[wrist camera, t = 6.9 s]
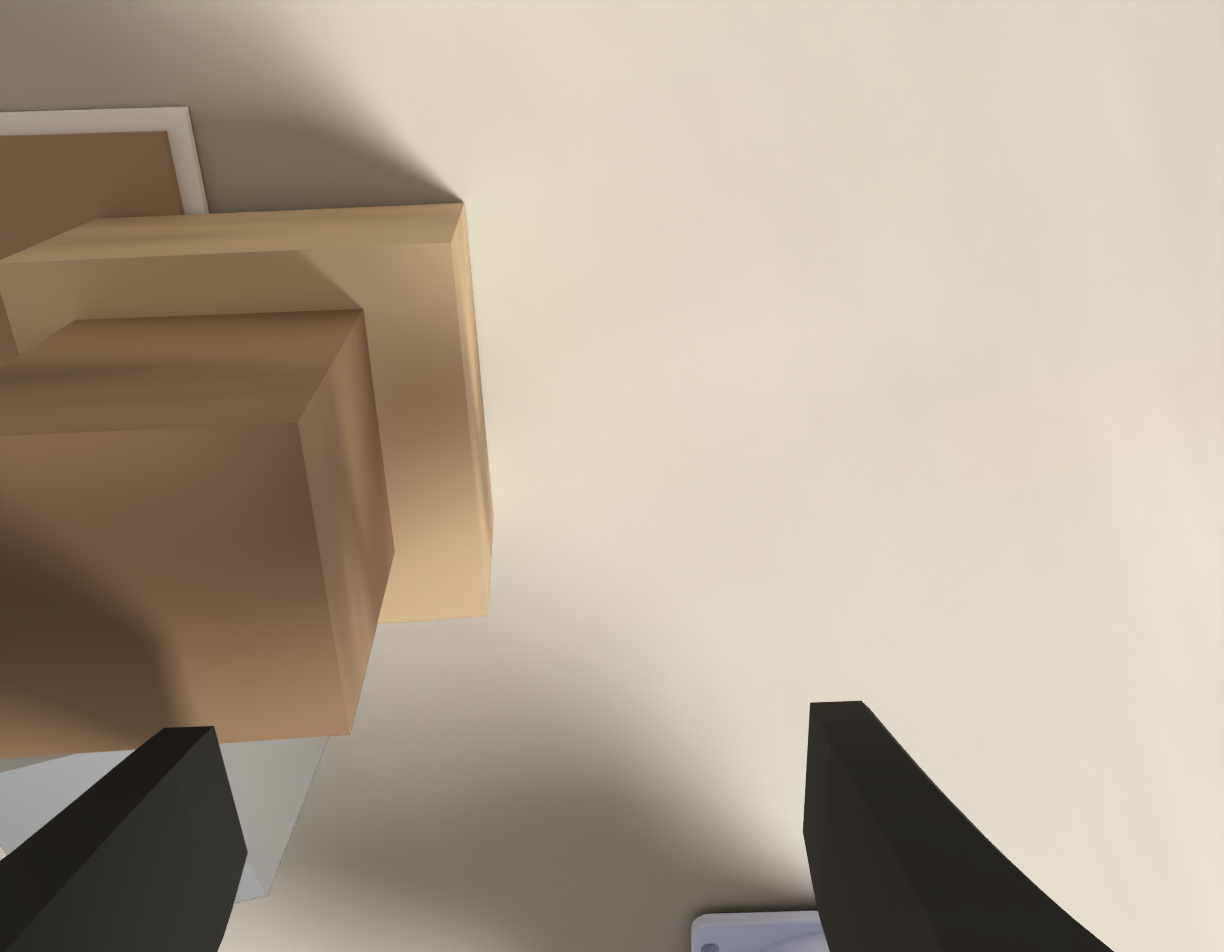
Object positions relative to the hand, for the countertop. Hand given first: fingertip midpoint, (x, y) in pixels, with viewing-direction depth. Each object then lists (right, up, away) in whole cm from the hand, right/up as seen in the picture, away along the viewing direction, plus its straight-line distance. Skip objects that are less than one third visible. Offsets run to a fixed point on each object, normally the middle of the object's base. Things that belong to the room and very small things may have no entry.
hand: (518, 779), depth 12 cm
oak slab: (-5, +6, +8) cm, 11 cm away
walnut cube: (-5, +4, +5) cm, 8 cm away
